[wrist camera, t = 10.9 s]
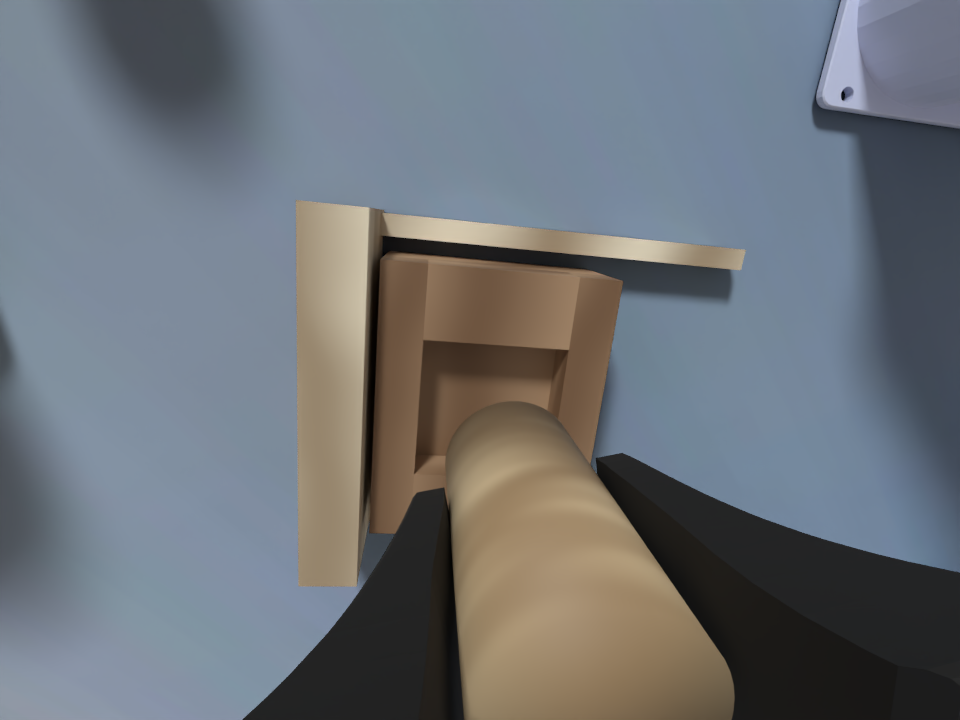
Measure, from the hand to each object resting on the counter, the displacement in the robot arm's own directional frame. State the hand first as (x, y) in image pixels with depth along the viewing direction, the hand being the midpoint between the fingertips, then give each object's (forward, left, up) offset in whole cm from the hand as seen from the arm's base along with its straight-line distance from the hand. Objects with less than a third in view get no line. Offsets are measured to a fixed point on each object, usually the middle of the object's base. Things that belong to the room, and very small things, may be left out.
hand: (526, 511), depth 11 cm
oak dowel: (0, 0, -2) cm, 2 cm away
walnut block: (0, 0, -10) cm, 11 cm away
